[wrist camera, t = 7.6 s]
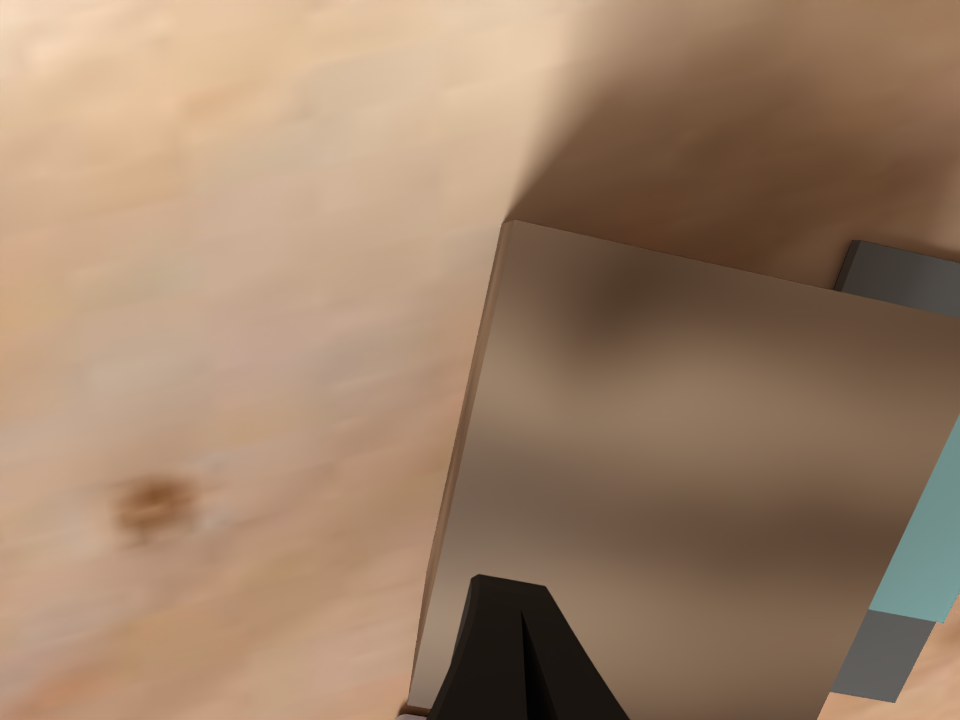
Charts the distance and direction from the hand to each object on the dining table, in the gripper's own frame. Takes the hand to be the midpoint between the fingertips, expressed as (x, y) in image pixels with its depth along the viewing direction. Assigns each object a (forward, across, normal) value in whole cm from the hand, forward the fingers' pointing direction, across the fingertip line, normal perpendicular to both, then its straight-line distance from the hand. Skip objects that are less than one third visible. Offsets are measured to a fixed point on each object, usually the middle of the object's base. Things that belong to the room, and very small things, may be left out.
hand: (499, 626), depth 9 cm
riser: (+10, -5, 0) cm, 12 cm away
